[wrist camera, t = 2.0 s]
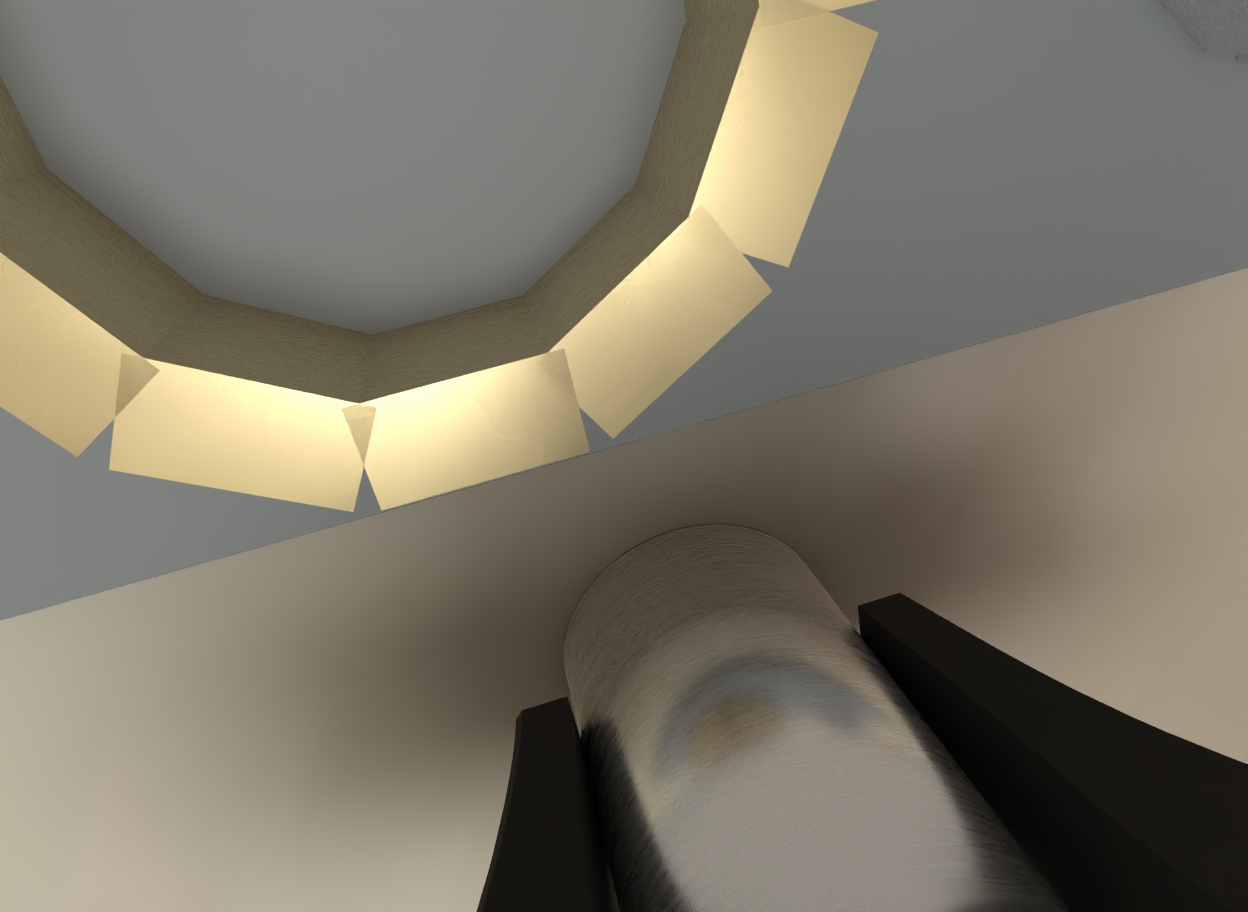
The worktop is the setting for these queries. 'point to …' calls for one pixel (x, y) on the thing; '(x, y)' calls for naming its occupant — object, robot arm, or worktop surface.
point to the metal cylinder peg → (768, 747)
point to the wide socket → (445, 346)
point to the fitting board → (591, 199)
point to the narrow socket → (1213, 24)
